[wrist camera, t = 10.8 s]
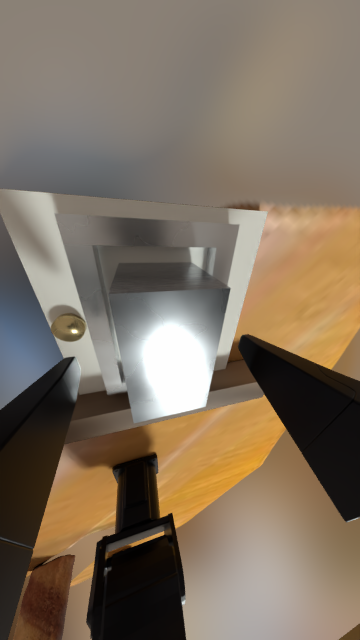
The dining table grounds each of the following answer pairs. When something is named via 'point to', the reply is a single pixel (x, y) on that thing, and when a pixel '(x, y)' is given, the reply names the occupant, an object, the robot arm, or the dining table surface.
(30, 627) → the wafer roll
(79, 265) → the mini door model
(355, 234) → the dining table surface
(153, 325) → the block
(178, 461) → the dining table surface
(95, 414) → the brown wooden bar
